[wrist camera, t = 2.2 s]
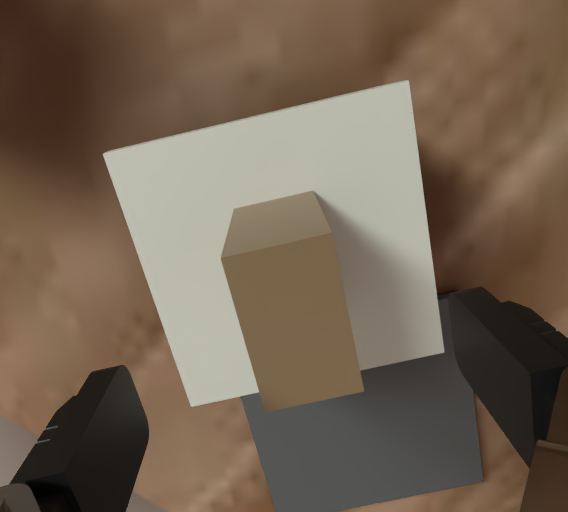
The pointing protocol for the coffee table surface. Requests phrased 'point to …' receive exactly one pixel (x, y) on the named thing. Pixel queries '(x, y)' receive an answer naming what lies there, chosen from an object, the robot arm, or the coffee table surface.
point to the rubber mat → (373, 436)
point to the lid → (286, 247)
